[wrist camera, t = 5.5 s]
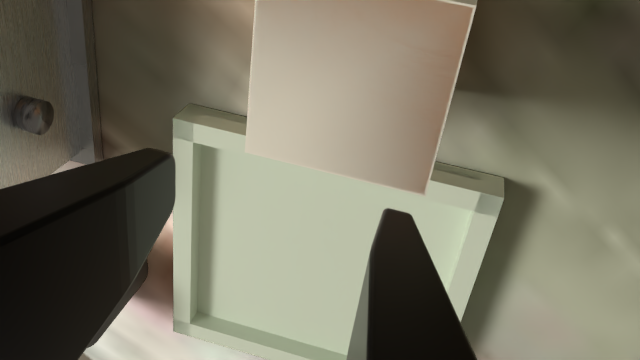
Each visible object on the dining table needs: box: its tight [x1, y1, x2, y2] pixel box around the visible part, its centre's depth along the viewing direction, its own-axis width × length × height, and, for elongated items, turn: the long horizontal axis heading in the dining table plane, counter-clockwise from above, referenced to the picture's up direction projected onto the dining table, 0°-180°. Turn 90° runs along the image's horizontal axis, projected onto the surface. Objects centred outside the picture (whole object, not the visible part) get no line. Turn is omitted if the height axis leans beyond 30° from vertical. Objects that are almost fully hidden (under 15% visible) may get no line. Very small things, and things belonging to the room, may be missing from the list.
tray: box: [173, 103, 504, 360], centre depth 24 cm, size 12×11×1 cm
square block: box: [245, 0, 477, 197], centre depth 16 cm, size 5×5×7 cm
